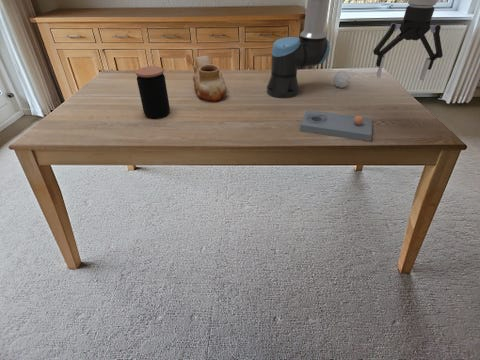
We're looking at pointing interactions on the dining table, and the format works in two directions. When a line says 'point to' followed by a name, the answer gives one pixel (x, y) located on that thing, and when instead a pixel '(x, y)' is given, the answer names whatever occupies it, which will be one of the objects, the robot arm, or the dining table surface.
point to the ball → (358, 120)
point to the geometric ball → (341, 79)
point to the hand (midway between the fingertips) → (399, 77)
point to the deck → (336, 125)
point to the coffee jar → (153, 91)
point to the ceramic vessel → (208, 80)
